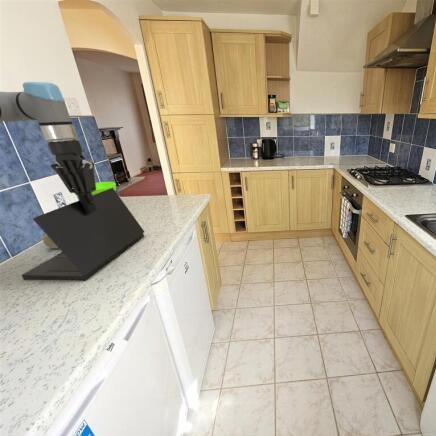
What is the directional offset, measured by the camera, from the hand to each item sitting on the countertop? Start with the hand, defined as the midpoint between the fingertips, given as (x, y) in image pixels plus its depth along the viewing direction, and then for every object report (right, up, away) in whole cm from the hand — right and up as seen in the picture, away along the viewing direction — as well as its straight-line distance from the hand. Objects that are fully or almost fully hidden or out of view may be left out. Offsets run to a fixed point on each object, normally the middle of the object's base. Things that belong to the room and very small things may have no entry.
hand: (91, 211), depth 83 cm
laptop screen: (+1, -5, +2) cm, 6 cm away
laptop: (-6, -16, +7) cm, 18 cm away
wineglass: (-22, -4, +36) cm, 42 cm away
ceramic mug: (-23, -13, +16) cm, 31 cm away
